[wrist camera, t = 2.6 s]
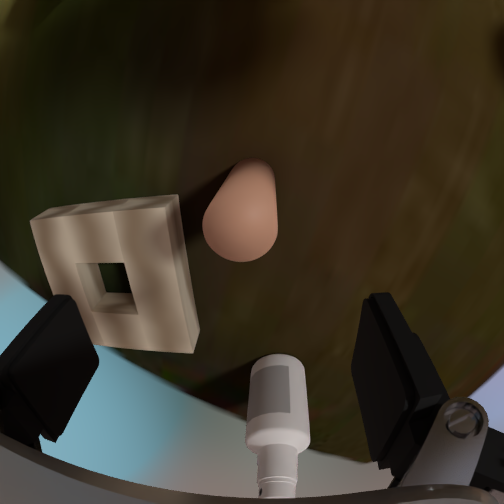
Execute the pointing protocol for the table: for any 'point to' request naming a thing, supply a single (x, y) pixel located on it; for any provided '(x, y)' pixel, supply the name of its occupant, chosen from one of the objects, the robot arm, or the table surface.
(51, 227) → the socket block
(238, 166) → the peg
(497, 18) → the table surface
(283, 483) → the spray bottle
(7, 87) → the table surface
